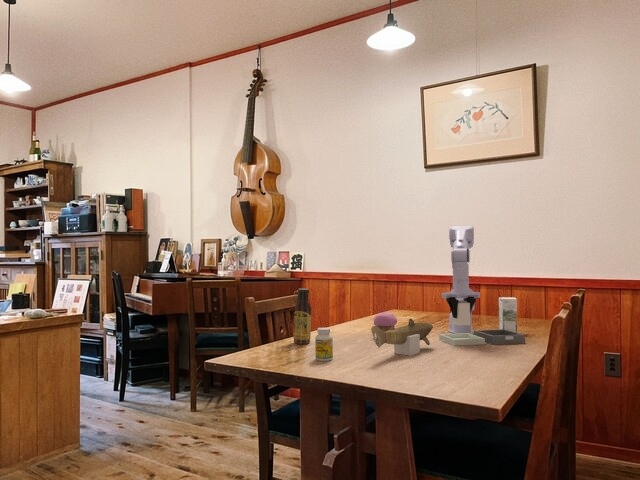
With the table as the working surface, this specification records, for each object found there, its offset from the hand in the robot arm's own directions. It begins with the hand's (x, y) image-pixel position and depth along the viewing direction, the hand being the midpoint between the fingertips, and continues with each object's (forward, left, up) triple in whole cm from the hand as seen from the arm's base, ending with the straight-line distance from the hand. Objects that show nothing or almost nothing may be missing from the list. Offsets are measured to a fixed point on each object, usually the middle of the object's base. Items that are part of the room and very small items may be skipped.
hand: (461, 317), depth 180 cm
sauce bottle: (-11, -57, -9) cm, 59 cm away
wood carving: (+15, -28, -9) cm, 33 cm away
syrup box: (-13, +28, -9) cm, 32 cm away
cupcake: (-14, -24, -9) cm, 30 cm away
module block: (0, 0, -2) cm, 2 cm away
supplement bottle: (+17, -55, -9) cm, 59 cm away
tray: (0, 0, -9) cm, 9 cm away
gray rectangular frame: (+1, +15, -9) cm, 17 cm away
